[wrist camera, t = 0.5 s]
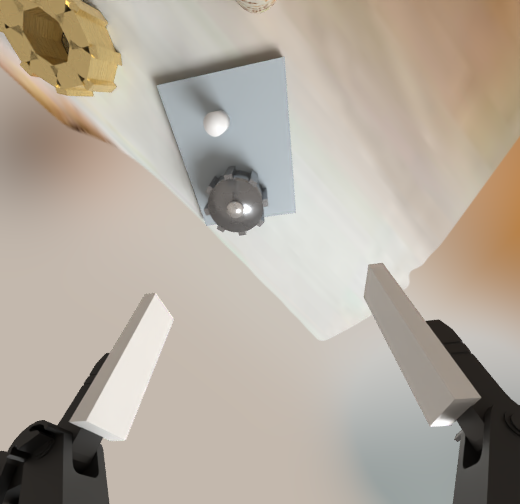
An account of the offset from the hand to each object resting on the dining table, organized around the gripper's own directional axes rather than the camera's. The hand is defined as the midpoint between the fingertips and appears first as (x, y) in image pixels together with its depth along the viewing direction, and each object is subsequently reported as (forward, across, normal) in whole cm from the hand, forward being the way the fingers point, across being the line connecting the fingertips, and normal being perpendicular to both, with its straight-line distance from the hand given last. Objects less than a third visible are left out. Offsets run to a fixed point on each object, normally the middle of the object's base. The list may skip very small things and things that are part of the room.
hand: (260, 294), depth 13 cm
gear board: (+26, -3, +3) cm, 26 cm away
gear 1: (+26, -19, +19) cm, 37 cm away
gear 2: (+24, -4, -2) cm, 24 cm away
